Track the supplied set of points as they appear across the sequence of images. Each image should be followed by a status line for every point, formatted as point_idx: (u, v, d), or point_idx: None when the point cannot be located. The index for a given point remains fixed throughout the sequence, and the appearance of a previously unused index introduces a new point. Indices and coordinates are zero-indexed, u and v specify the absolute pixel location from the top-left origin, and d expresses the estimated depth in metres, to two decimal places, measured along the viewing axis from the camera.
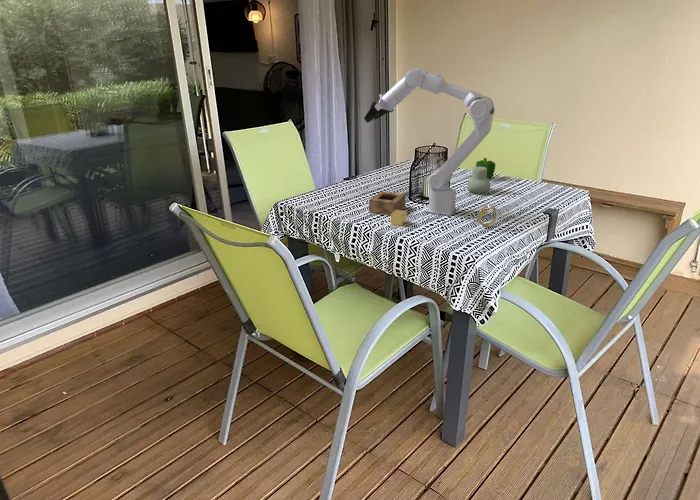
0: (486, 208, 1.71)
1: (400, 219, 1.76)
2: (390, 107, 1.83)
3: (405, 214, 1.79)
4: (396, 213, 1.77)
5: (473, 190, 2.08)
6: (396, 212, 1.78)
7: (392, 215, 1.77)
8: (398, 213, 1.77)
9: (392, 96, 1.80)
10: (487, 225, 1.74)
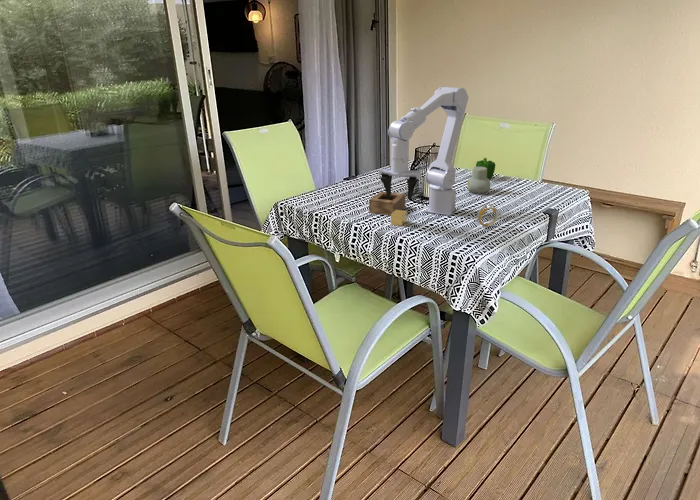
0: (486, 208, 1.71)
1: (400, 219, 1.76)
2: None
3: (405, 214, 1.79)
4: (396, 213, 1.77)
5: (473, 190, 2.08)
6: (396, 212, 1.78)
7: (392, 215, 1.77)
8: (398, 213, 1.77)
9: None
10: (487, 225, 1.74)
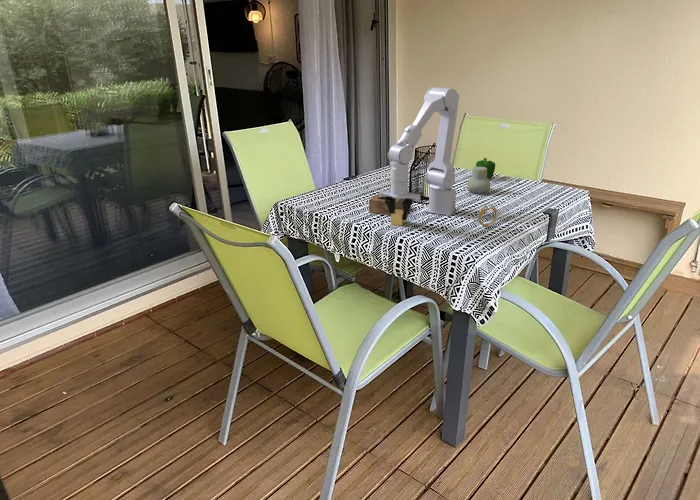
0: (486, 208, 1.71)
1: (400, 219, 1.76)
2: None
3: None
4: (396, 212, 1.77)
5: (473, 190, 2.08)
6: (396, 212, 1.78)
7: (392, 215, 1.77)
8: (398, 213, 1.77)
9: (407, 183, 1.73)
10: (487, 225, 1.74)
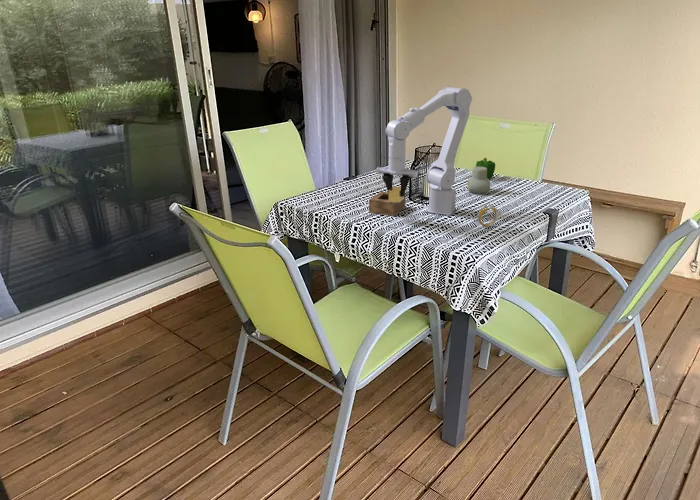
0: (486, 208, 1.71)
1: (398, 195, 1.76)
2: None
3: None
4: (394, 189, 1.78)
5: (473, 190, 2.08)
6: (393, 189, 1.78)
7: (390, 191, 1.77)
8: (395, 189, 1.77)
9: (404, 159, 1.73)
10: (487, 225, 1.74)
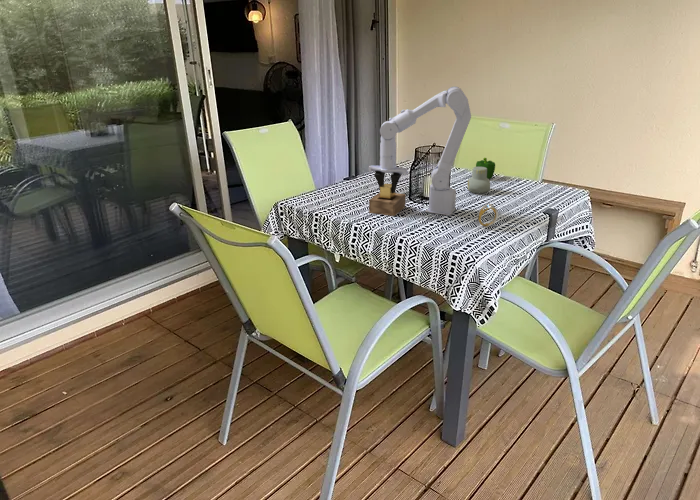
0: (486, 208, 1.71)
1: (389, 191, 1.87)
2: None
3: None
4: (385, 186, 1.89)
5: (473, 190, 2.08)
6: (385, 185, 1.89)
7: (381, 188, 1.88)
8: (386, 186, 1.88)
9: (395, 157, 1.84)
10: (487, 225, 1.74)
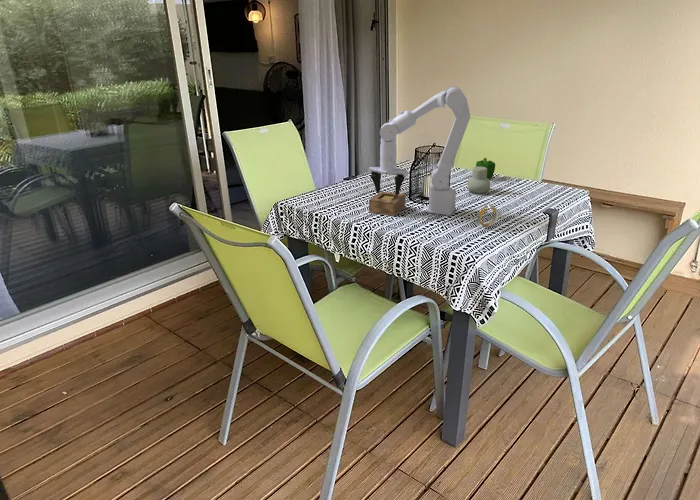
0: (486, 208, 1.71)
1: None
2: None
3: None
4: (385, 198, 1.91)
5: (473, 190, 2.08)
6: (384, 198, 1.91)
7: None
8: (386, 199, 1.90)
9: (395, 159, 1.84)
10: (487, 225, 1.74)
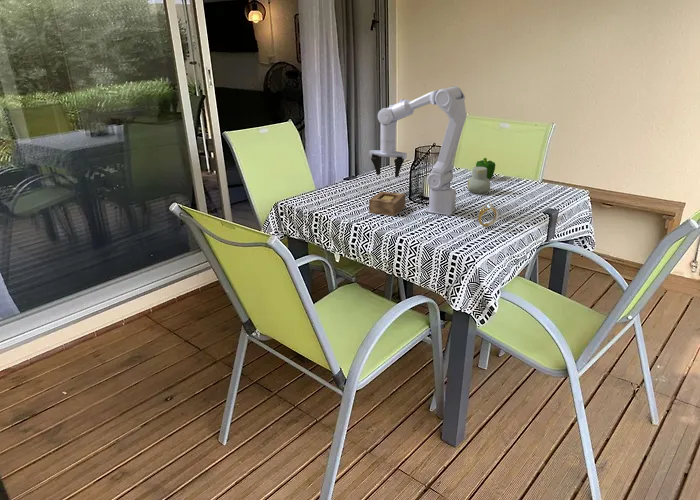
0: (486, 208, 1.71)
1: None
2: None
3: None
4: (385, 198, 1.91)
5: (473, 190, 2.08)
6: (384, 198, 1.91)
7: None
8: (386, 199, 1.90)
9: (395, 142, 1.92)
10: (487, 225, 1.74)
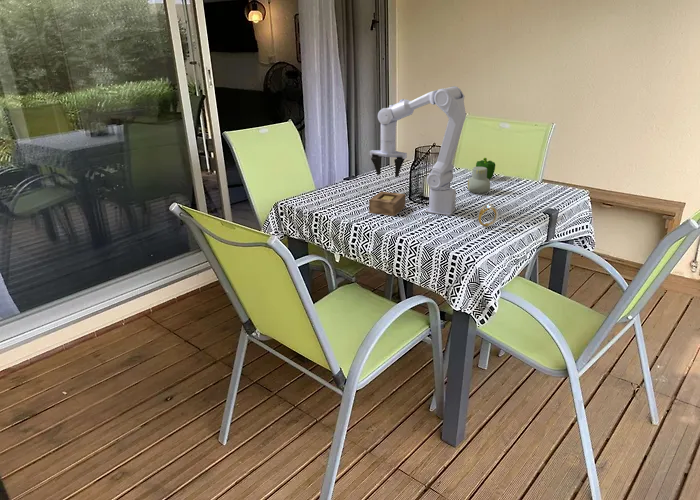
0: (486, 208, 1.71)
1: None
2: None
3: None
4: (385, 198, 1.91)
5: (473, 190, 2.08)
6: (384, 198, 1.91)
7: None
8: (386, 199, 1.90)
9: (395, 142, 1.93)
10: (487, 225, 1.74)
